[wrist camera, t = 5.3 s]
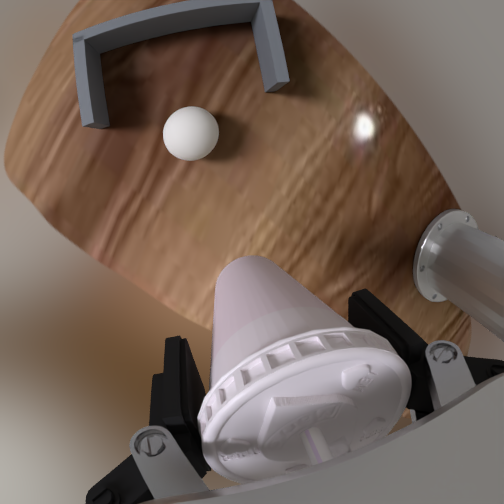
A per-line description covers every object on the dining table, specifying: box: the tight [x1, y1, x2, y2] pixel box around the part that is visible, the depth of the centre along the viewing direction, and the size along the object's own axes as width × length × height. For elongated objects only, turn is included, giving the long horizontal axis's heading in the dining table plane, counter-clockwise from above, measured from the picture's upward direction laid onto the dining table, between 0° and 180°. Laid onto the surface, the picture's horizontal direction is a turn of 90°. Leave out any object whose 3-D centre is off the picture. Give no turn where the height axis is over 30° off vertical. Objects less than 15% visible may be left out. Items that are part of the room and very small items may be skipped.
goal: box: [73, 0, 290, 129], centre depth 20 cm, size 16×8×4 cm, turn 100°
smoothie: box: [197, 256, 412, 484], centre depth 10 cm, size 6×6×14 cm
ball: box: [163, 107, 219, 161], centre depth 23 cm, size 4×4×4 cm
